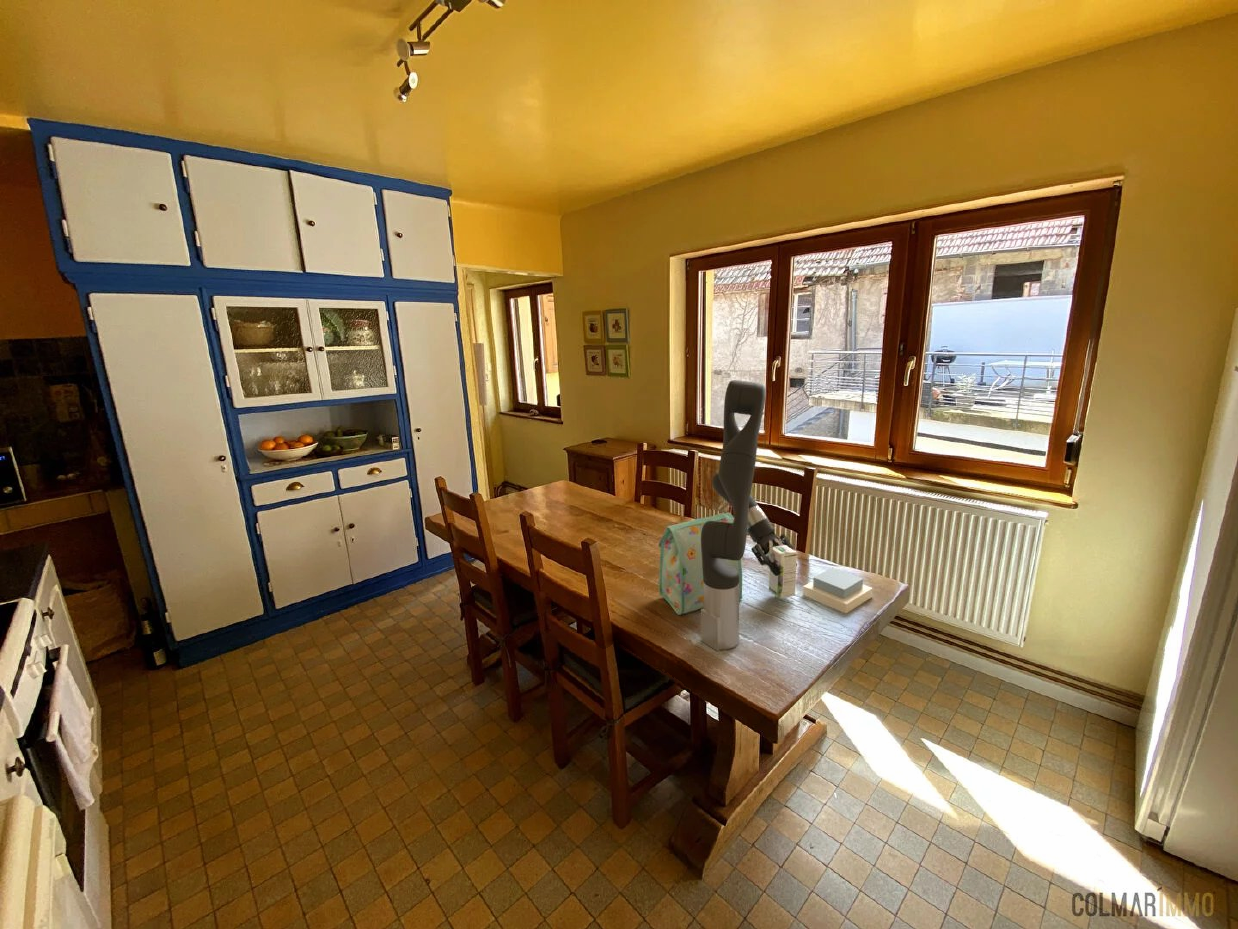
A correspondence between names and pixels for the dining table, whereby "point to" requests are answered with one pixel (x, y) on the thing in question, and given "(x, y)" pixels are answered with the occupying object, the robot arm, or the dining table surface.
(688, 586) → the lunch bag
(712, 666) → the dining table surface
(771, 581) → the syrup box
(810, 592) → the tower base
